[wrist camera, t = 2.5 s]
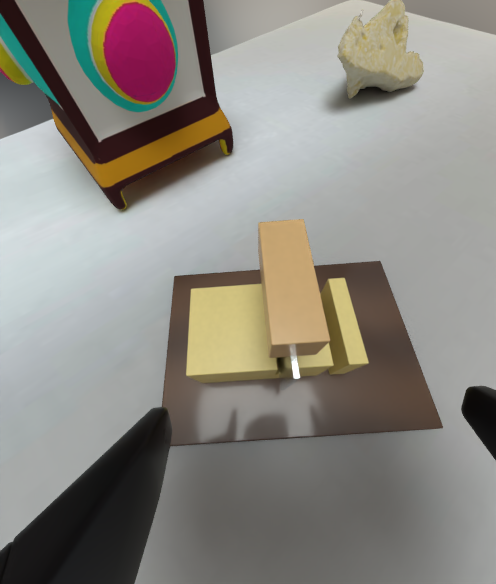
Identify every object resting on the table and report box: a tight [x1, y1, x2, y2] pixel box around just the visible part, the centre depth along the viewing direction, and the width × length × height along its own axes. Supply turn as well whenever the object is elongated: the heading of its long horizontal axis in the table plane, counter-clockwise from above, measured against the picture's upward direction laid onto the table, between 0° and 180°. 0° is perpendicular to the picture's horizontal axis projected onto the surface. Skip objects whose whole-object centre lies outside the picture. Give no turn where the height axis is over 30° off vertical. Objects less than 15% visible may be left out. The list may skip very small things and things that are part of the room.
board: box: [162, 261, 443, 446], centre depth 20 cm, size 14×20×1 cm
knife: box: [258, 219, 330, 390], centre depth 14 cm, size 8×2×9 cm, turn 3°
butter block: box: [186, 284, 334, 383], centre depth 17 cm, size 6×9×4 cm, turn 93°
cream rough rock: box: [337, 0, 424, 99], centre depth 36 cm, size 15×7×15 cm
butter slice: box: [320, 278, 369, 375], centre depth 17 cm, size 6×1×4 cm, turn 3°
